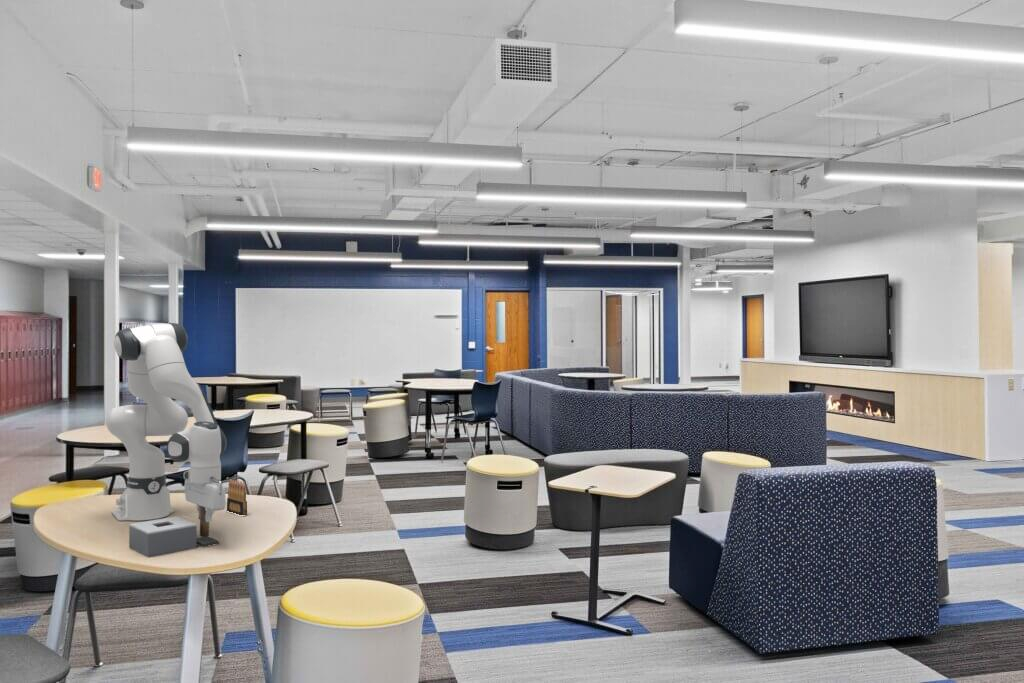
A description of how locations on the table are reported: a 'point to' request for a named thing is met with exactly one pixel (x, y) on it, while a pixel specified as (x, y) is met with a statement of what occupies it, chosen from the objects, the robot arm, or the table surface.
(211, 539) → the rubber pad
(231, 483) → the ammunition clip
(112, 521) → the table surface
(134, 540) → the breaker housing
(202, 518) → the brown rounded rod
